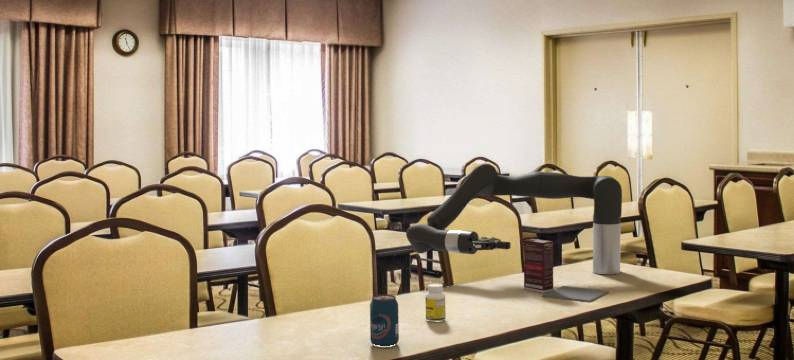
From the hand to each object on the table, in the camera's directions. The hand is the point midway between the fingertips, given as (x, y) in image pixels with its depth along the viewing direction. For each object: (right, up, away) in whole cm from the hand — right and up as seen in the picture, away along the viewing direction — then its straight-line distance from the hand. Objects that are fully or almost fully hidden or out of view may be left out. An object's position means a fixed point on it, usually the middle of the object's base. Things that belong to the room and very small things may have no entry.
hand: (509, 245), depth 287 cm
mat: (+19, -14, -11) cm, 26 cm away
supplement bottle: (-25, -18, -42) cm, 52 cm away
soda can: (-39, -20, -66) cm, 79 cm away
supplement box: (+9, -14, -4) cm, 17 cm away
